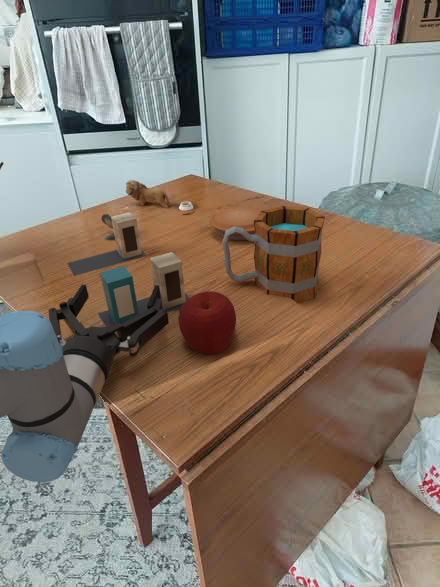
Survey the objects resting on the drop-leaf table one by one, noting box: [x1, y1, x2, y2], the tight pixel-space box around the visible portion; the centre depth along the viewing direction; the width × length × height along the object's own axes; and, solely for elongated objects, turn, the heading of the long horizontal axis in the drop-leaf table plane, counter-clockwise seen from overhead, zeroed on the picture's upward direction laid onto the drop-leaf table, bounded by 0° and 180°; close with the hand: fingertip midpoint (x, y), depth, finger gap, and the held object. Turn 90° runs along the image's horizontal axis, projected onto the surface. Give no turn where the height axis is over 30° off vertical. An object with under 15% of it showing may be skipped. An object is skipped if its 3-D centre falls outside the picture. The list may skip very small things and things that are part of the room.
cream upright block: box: [149, 251, 186, 309], centre depth 81 cm, size 5×4×9 cm
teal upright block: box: [99, 265, 139, 324], centre depth 77 cm, size 5×4×9 cm
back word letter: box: [111, 211, 143, 259], centre depth 99 cm, size 5×4×9 cm
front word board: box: [97, 293, 190, 327], centre depth 82 cm, size 7×17×2 cm, turn 119°
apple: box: [177, 291, 237, 355], centre depth 71 cm, size 10×10×10 cm
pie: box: [209, 206, 262, 242], centre depth 111 cm, size 15×16×5 cm
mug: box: [221, 205, 326, 304], centre depth 85 cm, size 20×14×15 cm
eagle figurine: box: [101, 213, 115, 241], centre depth 110 cm, size 8×7×9 cm
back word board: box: [66, 249, 147, 277], centre depth 100 cm, size 7×17×2 cm, turn 119°
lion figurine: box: [125, 179, 172, 209], centre depth 125 cm, size 15×5×9 cm, turn 80°
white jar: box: [178, 200, 196, 216], centre depth 124 cm, size 5×3×5 cm
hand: (121, 290), depth 78 cm, fingers open, 13 cm apart
